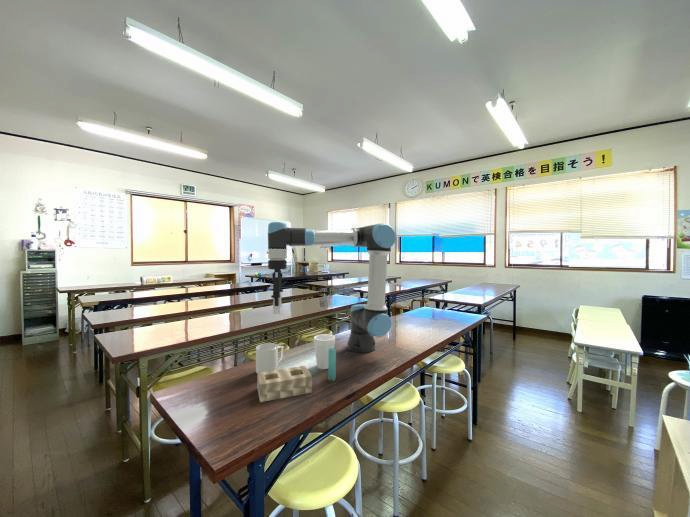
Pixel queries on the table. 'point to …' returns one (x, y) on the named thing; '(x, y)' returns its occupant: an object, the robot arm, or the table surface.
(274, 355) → the mug
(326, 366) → the foam cup
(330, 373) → the peg
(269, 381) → the hole block
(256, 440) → the table surface
